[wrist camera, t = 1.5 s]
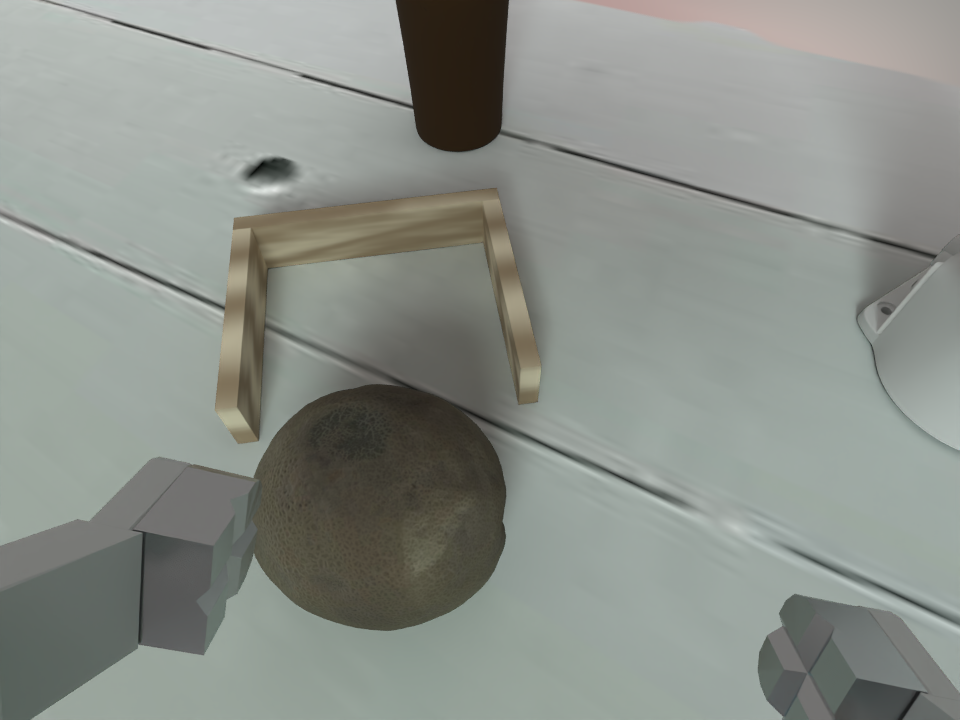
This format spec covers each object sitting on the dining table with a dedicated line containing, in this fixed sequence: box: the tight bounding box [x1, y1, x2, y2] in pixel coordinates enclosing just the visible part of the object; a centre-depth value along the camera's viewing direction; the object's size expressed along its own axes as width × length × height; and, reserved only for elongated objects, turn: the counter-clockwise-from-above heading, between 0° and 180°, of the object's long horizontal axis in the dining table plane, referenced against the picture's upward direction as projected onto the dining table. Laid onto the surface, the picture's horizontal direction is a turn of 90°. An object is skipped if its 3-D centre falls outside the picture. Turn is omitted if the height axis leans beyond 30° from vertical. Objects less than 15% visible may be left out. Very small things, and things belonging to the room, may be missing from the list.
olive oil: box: [396, 0, 509, 152], centre depth 60 cm, size 11×11×25 cm
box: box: [215, 188, 541, 444], centre depth 53 cm, size 20×23×5 cm
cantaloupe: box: [252, 384, 506, 631], centre depth 37 cm, size 14×14×15 cm
